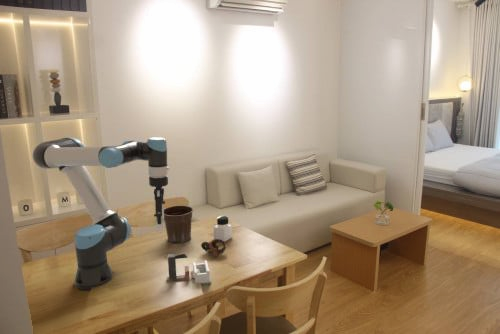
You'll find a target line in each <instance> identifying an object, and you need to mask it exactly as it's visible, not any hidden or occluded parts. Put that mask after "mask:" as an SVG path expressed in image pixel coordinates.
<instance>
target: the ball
mask: <svg viewBox="0 0 500 334" xmlns="http://www.w3.org/2000/svg"><path fill="white" fill-rule="evenodd" d="M198 273H200V271H199V270H198V269H197V274H198ZM190 276H191V278H192V279H195V273H194V269H193V268H192V270H191V271H190Z"/></svg>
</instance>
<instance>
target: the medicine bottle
mask: <svg viewBox="0 0 500 334" xmlns="http://www.w3.org/2000/svg"><path fill="white" fill-rule="evenodd" d="M232 238H233V225H232V224H229V217H228V216H226V215H220V216H217V218H216V225H215V226H213V239H221V240H222V241H224V243H225V242H226V241H228V240H231V239H232Z"/></svg>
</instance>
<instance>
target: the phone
mask: <svg viewBox="0 0 500 334" xmlns="http://www.w3.org/2000/svg"><path fill="white" fill-rule="evenodd" d="M188 258H189V257H188V256H187V254H186V253H181V254H175V260H179V259H188Z"/></svg>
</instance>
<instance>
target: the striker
mask: <svg viewBox="0 0 500 334" xmlns="http://www.w3.org/2000/svg"><path fill="white" fill-rule="evenodd" d="M175 256H176V253H170V254H169V253H168V254H167V266H168V276H166V282H167V283H169V282H171V283H172V282H177V281H178V282H179V281H185V282H190V281H191V279H190V278H191V277H190V267H189V265H185V266H184V274H183V275H177V266H176V265H177V263H176V259H175Z"/></svg>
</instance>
